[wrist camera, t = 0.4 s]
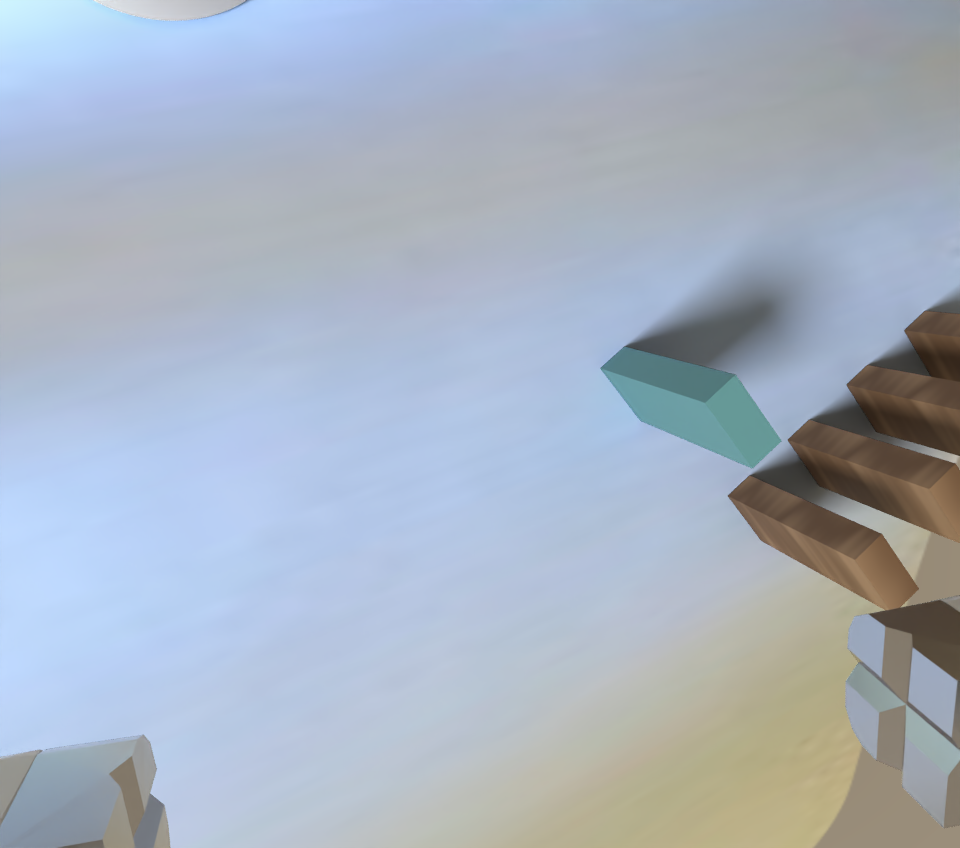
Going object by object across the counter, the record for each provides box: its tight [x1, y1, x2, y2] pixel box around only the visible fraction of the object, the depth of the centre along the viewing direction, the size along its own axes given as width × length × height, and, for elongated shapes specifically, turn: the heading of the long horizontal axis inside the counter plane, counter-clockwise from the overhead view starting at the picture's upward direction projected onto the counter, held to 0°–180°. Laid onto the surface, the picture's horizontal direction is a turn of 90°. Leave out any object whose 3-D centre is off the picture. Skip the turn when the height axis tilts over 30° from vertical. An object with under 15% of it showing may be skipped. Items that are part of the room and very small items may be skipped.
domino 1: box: [600, 347, 781, 468], centre depth 46 cm, size 2×4×12 cm, turn 39°
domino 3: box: [788, 420, 960, 543], centre depth 50 cm, size 2×4×12 cm, turn 39°
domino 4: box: [728, 476, 919, 610], centre depth 50 cm, size 2×4×12 cm, turn 40°
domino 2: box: [847, 365, 960, 456], centre depth 51 cm, size 2×4×12 cm, turn 40°
